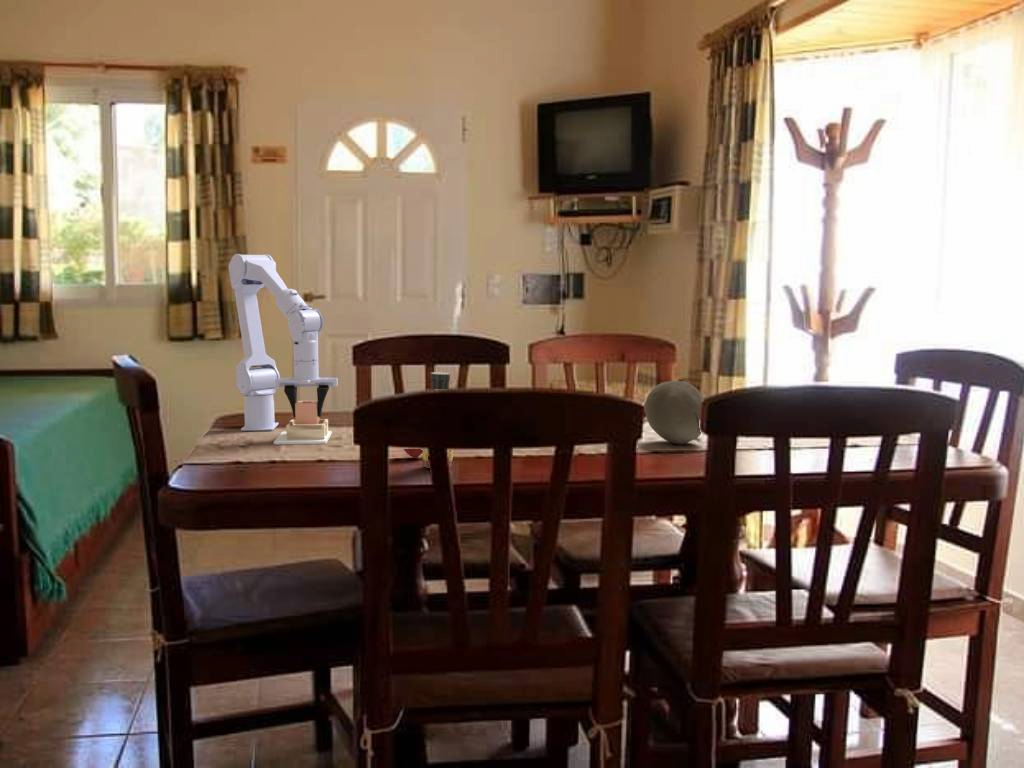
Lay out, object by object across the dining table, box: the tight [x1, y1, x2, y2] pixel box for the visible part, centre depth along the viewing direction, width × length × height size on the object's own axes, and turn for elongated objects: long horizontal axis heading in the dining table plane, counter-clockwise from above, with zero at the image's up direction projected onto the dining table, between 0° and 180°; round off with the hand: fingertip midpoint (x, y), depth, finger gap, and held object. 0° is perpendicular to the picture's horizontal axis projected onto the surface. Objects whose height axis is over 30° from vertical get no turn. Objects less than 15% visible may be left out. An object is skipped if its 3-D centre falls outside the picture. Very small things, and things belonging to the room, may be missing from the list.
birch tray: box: [285, 418, 329, 440], centre depth 231 cm, size 9×9×3 cm
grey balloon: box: [644, 380, 705, 445], centre depth 226 cm, size 14×14×15 cm
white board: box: [273, 430, 333, 445], centre depth 231 cm, size 14×12×1 cm
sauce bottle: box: [422, 371, 454, 469], centre depth 198 cm, size 7×6×20 cm
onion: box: [403, 449, 423, 459], centre depth 208 cm, size 6×6×8 cm
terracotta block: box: [294, 400, 320, 425], centre depth 230 cm, size 5×5×5 cm
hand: (307, 416), depth 230 cm, fingers closed on terracotta block, 5 cm apart
